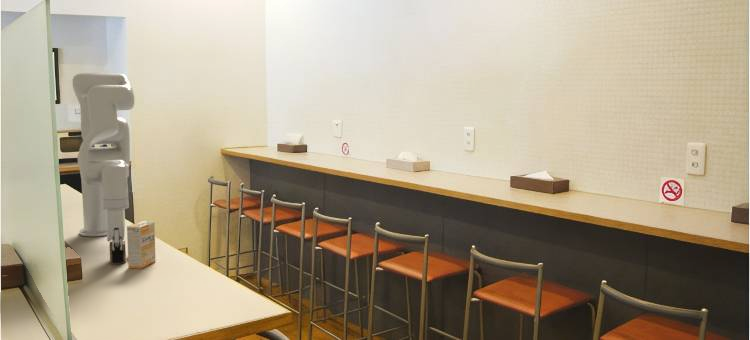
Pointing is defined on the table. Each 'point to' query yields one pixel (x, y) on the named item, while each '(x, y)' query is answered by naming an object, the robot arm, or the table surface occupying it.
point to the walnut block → (114, 249)
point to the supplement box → (141, 244)
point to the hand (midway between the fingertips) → (118, 258)
